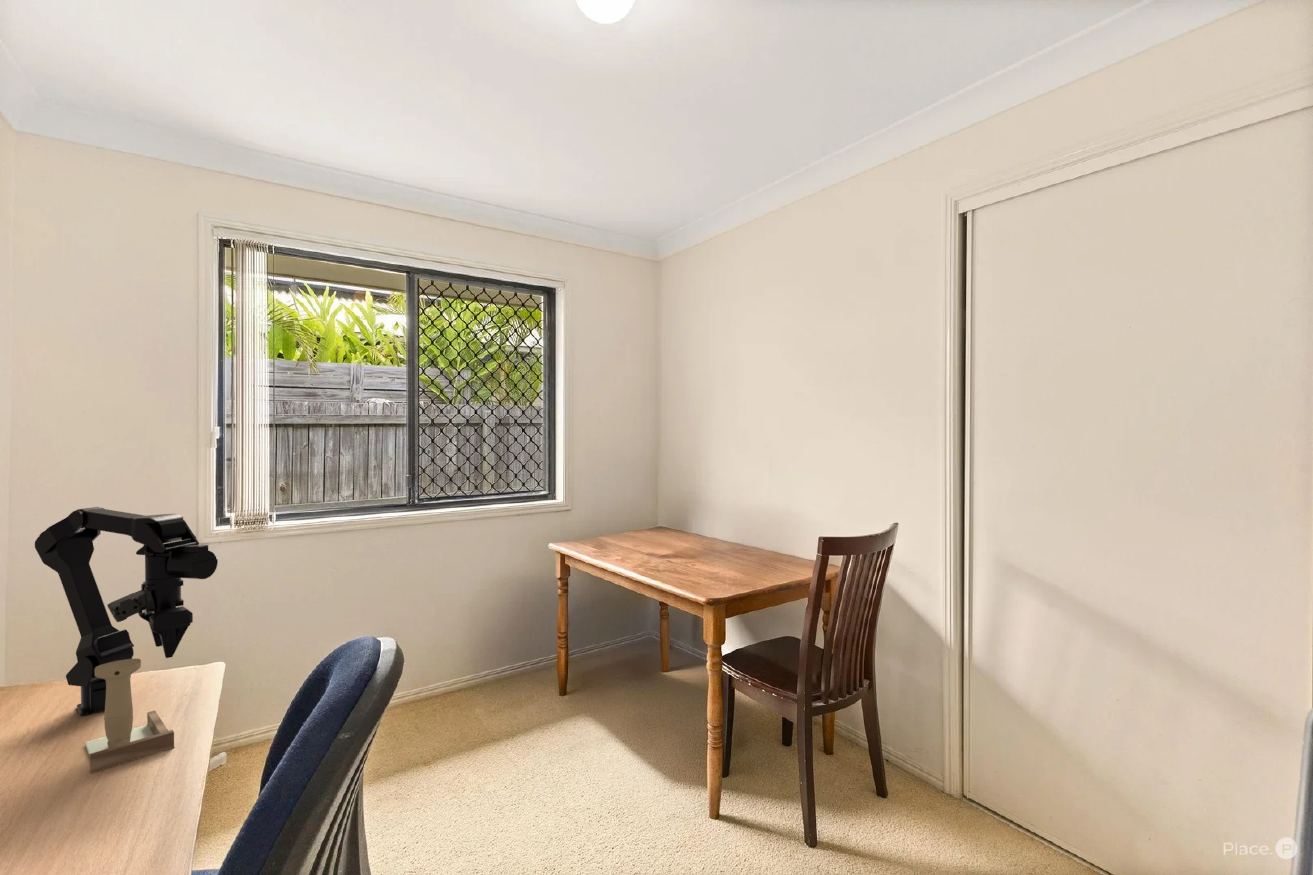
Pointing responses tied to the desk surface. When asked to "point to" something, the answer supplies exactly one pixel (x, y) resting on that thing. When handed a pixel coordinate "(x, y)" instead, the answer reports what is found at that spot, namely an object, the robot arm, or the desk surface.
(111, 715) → the handle
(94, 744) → the pad
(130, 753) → the walls
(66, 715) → the desk surface
